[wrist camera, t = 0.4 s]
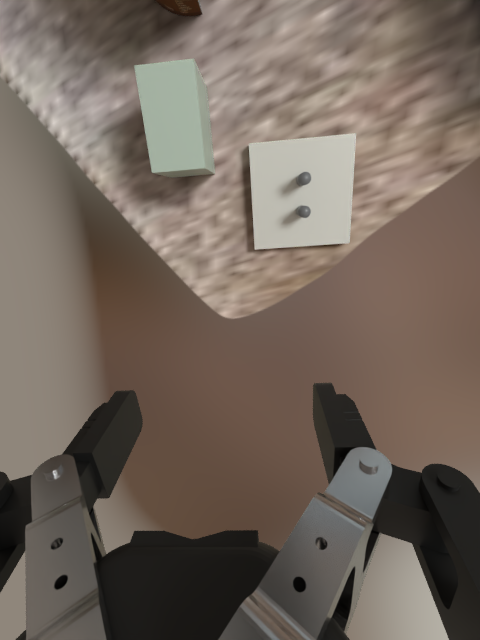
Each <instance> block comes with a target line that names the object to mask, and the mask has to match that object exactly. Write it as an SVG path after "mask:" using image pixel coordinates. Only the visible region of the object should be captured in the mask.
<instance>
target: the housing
mask: <svg viewBox="0 0 480 640" xmlns="http://www.w3.org/2000/svg"><path fill="white" fill-rule="evenodd" d="M134 67H135V73H136V79H137V85H138V91H139V97H140V103H141V110H142V116H143V122H144V128H145V134H146V140H147V146H148V152H149V158H150V164H151V170H152V173H154V174H158V175H162V176H166V177H170V178H175V177H187V176H198V175H210V174H215V168H214V158H213V147H212V137H211V126H210V116H209V105H208V95H207V87H206V85H205V83H204V80H203V78H202V76H201V74H200V71H199V69H198V67H197V65H196V62H195V60H194V59H186V60H177V61H169V62H160V63H152V64H143V65H134Z"/></svg>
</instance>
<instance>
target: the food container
mask: <svg viewBox="0 0 480 640" xmlns="http://www.w3.org/2000/svg"><path fill="white" fill-rule="evenodd" d="M155 1H156V2H157V3H158V4H159V5H161V6H162V7H163V8H165V9H166V10H168V11H170V12H172V13H174V14H177V15H182V16H196V15H200V14H202V10H201V6H200V1H199V0H155Z"/></svg>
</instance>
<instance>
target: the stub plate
mask: <svg viewBox="0 0 480 640" xmlns="http://www.w3.org/2000/svg"><path fill="white" fill-rule="evenodd" d="M355 143H356V133H355V134H344V135H334V136H323V137H313V138H302V139H291V140H281V141H270V142H260V143H249V156H250V174H251V192H252V210H253V228H254V245H255V250H256V249H271V248H285V247H300V246H314V245H329V244H344V243H350V227H351V210H352V193H353V177H354V160H355Z"/></svg>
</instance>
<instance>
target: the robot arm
mask: <svg viewBox="0 0 480 640" xmlns="http://www.w3.org/2000/svg"><path fill="white" fill-rule="evenodd" d="M313 420H314V426H315V430H316V434H317V438H318V442H319V446H320V450H321V454H322V458H323V462H324V466H325V470H326V474H327V478H328V482H329V486H328V488H327V489H326V491H325V492H324V494H321V493H317V494H316V495H315V496H314V498H313V499H312V501H311V502H310V504H309V506H308V507H307V509H306V510H305V512H304V514H303V515H302V517H301V518H300V520H299V522H298V523H297V525H296V526H295V528H294V530H293V531H292V533H291V535H290V536H289V538H288V539H287V541H286V542H285V544H284V546H283V547H282V549H281V550H280V551H278V550H277V549H275V548H274V547H272V546H270V545H267V544H265V543H262V542H259V539H258V531H256V530H254V531H252V530H251V531H249V530H247V531H245V530H244V531H223V532H220V533H217V534H213V535H209V536H206V537H202V538H199V539H189V538H186V537H182V536H179V535H176V534H173V533H169V532H166V531H134V534H133V536H132V539H131V542H130V543H128V544H125V545H122V546H120V547H118V548H116V549H114V550H112V551H111V552H109V553H108V554H106V552H105V548H104V544H103V540H102V536H101V532H100V528H99V524H98V520H97V516H96V512H95V509H94V506H93V505H94V503H95V502H96V500H97V498H109V497H110V495H111V493H112V490H113V488H114V486H115V484H116V482H117V480H118V478H119V476H120V474H121V472H122V469H123V468H124V465H125V463H126V461H127V459H128V457H129V455H130V453H131V451H132V448H133V447H134V445H135V442H136V440H137V438H138V436H139V434H140V432H141V428H142V415H141V412H140V407H139V404H138V400H137V396H136V393H135V392H134V391H133V390H130V391H116V392H115V393H114V394H113V396H112V397H111V398H110V400H109V402H108V403H103V404H102V405H101V406H100V407H98V408H97V409H96V410H94V412H93V413H92V414H91V416H90V417H89V418H88V421H86V422H85V424H84V425H83V427H82V429H80V431H79V432H78V434H77V435H76V436H75V437H74V439H73V440H72V442H71V443H70V444H69V446H68V447H67V449H66V450H65V451H64V453H63V454H62V455H58V456H55V457H52V458H50V459H48V460H47V461H45V462H44V463H42V464H41V465H40V466H39V467H38V468H37V469H36V470H35V471H34V473H33V474H32V475H30V476H27V477H23V478H19V479H16V480H12V481H10V480H9V479H8V477H7V475H6V474H5V473H4V472H0V592H1V591H2V589H3V587H4V585H5V584H6V582H7V580H8V579H9V577H10V575H11V573H12V572H13V570H14V568H15V567H16V565H17V563H18V562H19V560H20V558H21V557H22V555H23V553H24V551H25V553H26V556H25V557H26V630H25V631H24V632H23V633H22V634H21V635H20V636H19V637H18V638H17V639H16V640H349V638H348V637H347V636H346V633H347V630H348V628H349V625H350V622H351V620H352V617H353V614H354V611H355V608H356V605H357V602H358V599H359V595H360V591H361V587H362V584H363V581H364V578H365V575H366V573H367V570H368V567H369V565H370V562H371V560H372V557H373V554H374V551H375V549H376V546H377V544H378V541H379V538H380V535H381V533H382V534H386V535H388V536H391V537H395V538H398V539H401V540H404V541H407V542H410V543H412V544H413V547H414V549H415V552H416V555H417V557H418V560H419V562H420V565H421V568H422V570H423V573H424V575H425V578H426V581H427V583H428V586H429V588H430V591H431V593H432V596H433V599H434V601H435V604H436V607H437V609H438V612H439V614H440V617H441V620H442V622H443V625H444V627H445V630H446V632H447V635H448V638H449V640H480V493H479V492H478V490H477V488H476V487H475V486H474V484H473V483H472V481H471V480H470V479H469V478H468V477H467V476H466V475H464V474H463V473H462V472H460V471H458V470H456V469H455V468H452V467H450V466H447V465H442V464H430V465H428V466H426V467H425V468H424V469H423V470H422V473H420V472H416V471H412V470H407V469H403V468H400V467H397V466H395V465H393V464H391V463H390V461H389V460H388V459H387V458H386V457H385V456H384V455H383V454H382V453H380V452H379V451H377V450H376V448H375V446H374V444H373V441H372V439H371V437H370V435H369V433H368V431H367V428H366V426H365V424H364V422H363V421H362V418H361V416H360V413H359V412H358V409H357V407H356V405H355V403H354V401H353V400H351V399H350V398H349V397H348V396H347V395H346V394H337V395H336V392H335V390H334V387H333V385H332V383H314V385H313Z"/></svg>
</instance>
